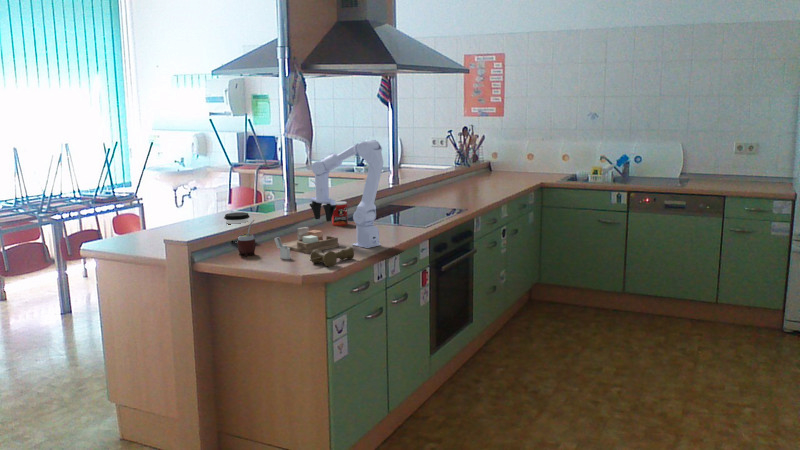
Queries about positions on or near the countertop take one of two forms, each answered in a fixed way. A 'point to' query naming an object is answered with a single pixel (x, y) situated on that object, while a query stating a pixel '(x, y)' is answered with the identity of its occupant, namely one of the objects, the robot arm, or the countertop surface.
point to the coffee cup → (236, 218)
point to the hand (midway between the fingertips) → (323, 220)
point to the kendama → (331, 256)
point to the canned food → (340, 214)
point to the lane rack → (312, 245)
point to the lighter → (282, 249)
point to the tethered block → (309, 233)
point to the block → (309, 239)
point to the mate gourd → (246, 243)
